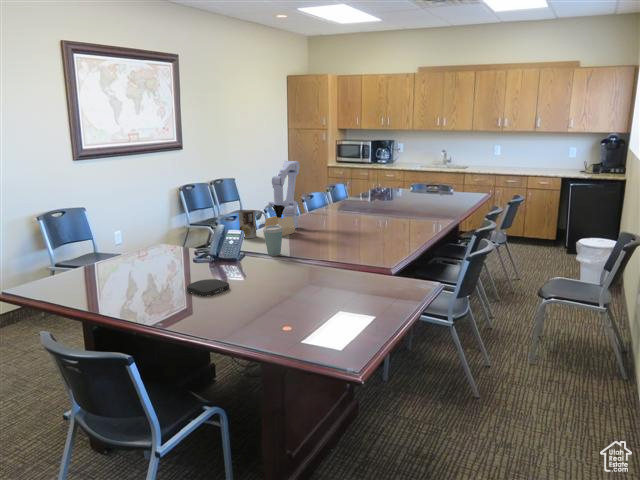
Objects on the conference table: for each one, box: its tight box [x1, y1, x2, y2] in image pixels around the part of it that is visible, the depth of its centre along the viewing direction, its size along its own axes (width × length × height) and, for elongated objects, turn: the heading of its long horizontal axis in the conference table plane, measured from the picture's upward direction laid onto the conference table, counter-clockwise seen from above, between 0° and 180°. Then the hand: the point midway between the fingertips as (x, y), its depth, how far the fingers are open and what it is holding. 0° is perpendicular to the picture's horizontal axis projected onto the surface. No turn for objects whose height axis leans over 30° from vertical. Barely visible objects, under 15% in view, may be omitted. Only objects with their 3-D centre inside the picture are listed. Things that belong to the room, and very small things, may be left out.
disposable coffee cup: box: [262, 224, 283, 257], centre depth 276 cm, size 11×11×15 cm
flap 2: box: [277, 216, 294, 229], centre depth 324 cm, size 15×1×6 cm, turn 147°
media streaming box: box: [186, 278, 230, 297], centre depth 221 cm, size 15×15×3 cm
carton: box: [282, 226, 296, 237], centre depth 328 cm, size 18×12×4 cm
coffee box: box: [238, 209, 258, 239], centre depth 319 cm, size 9×6×16 cm
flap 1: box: [264, 215, 282, 227], centre depth 330 cm, size 15×1×6 cm, turn 147°
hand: (279, 217), depth 326 cm, fingers closed
